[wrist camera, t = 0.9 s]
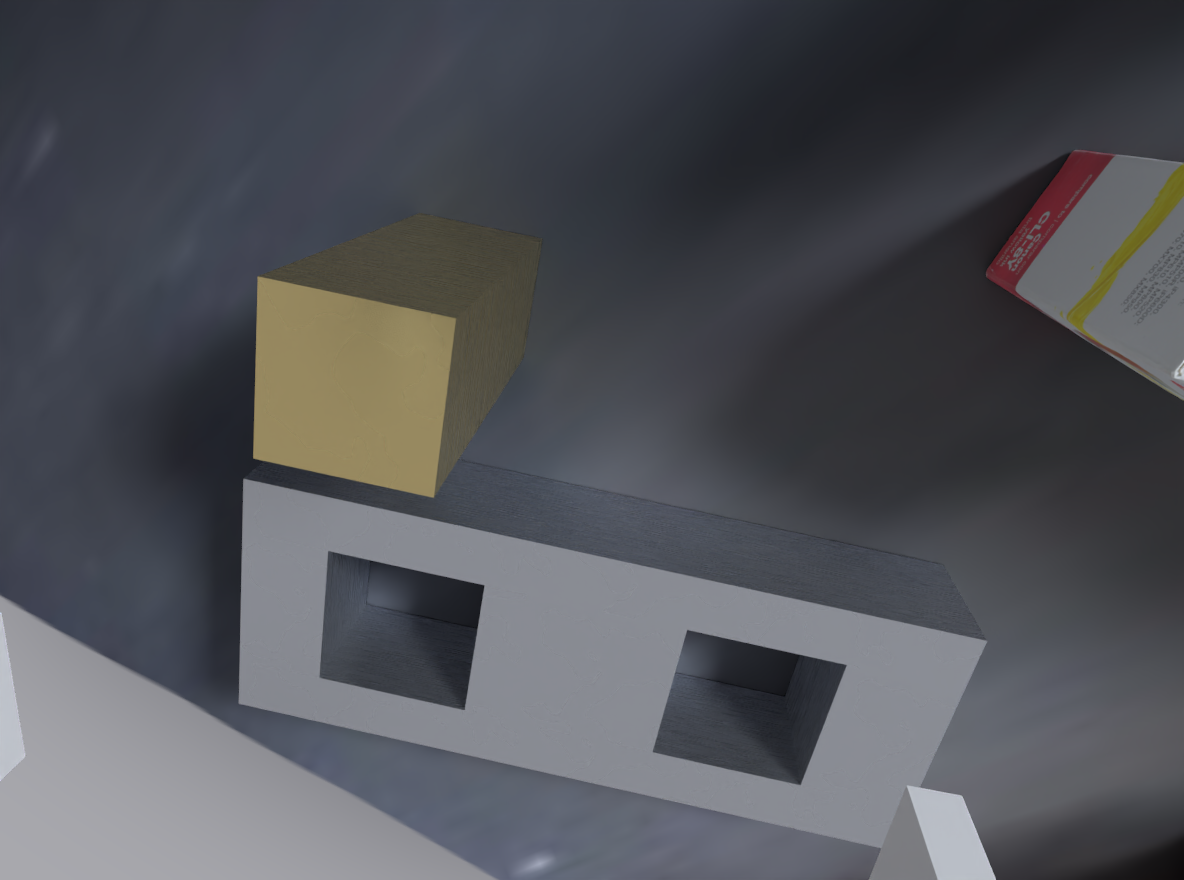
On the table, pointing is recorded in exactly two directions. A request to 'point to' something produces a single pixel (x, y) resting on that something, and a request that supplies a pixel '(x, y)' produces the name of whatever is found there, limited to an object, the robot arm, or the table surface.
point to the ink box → (1108, 259)
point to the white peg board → (606, 641)
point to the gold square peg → (390, 349)
